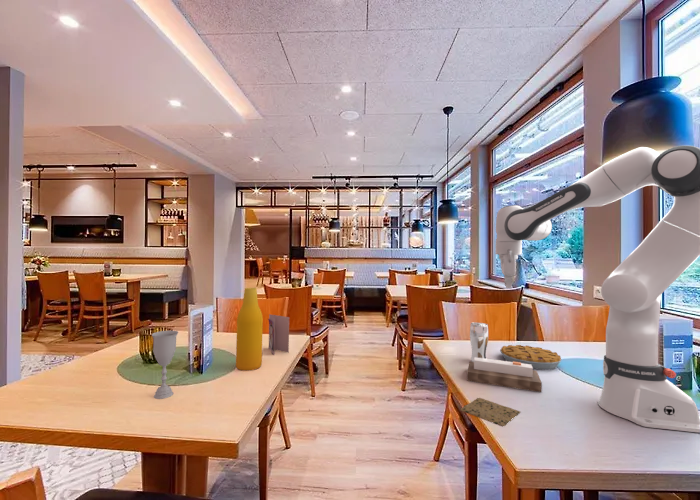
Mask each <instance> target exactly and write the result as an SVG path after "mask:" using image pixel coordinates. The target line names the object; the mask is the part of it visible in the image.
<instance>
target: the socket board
mask: <svg viewBox="0 0 700 500" xmlns="http://www.w3.org/2000/svg"><path fill="white" fill-rule="evenodd" d="M466 375H467V377H466V378H467V379H466V381H468V382H474V383H480V384H487V385H492V386H499V387H504V388H505V387H506V388H512V389H519V390H525V391H531V392H538V393H542V391H543V390H542V386H543V385H542V383H543V382H542V381H541V378H540V376H539V373H538V370H537V369H533V377H527V376H520V375H513V374H506V373H498V372H491V371H484V370H477V369H474V362H472V361H469V362H468V365H467V373H466Z"/></svg>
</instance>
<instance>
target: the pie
mask: <svg viewBox="0 0 700 500" xmlns="http://www.w3.org/2000/svg"><path fill="white" fill-rule="evenodd" d="M499 351H500V354H501V355H502V357H503V359H504V361H508V362H513V361H514V362H521V363H524V364H531V365H532V367H533V370H541V371H542V370H544V371H545V370H546V371H547V370H555V369H557V367H558V365H559V364H560V363H561V362H562V357H561V355H558V353H557V352H555V351H554V352H553V351H552V350H550V349H546V348H545V349H544V348H543V347H538V346H536V347H535V346H530V345H521V344H516V345H513V344H508V345H503V346H502V347H500V350H499Z"/></svg>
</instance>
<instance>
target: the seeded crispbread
mask: <svg viewBox="0 0 700 500" xmlns="http://www.w3.org/2000/svg"><path fill="white" fill-rule="evenodd" d="M459 411H461V412H464V413H467V414H469V415H471V416H474V417H477V418H479V419H482V420H485V421H487V422H490V423H492V422H493V423H492V424H495V425H497V424H498V426H500V427H503V426H504V427H505V426H506V425H508V424H509V423H510V422H511V421H512V420H513V419H515V418H516V417H517V416H519V414H520V413H521V411H520V410H516V409H513V408H512V407H508V406H505V405H502V404H499V403H497V402H494V401H490V400H489V399H485V398H481V397H476V399H474V400H473V401H471V402H469V403H468V404H466V405H465V404H464V405H463V406H462V407H461V408H460V410H459ZM515 416H516V417H515ZM514 417H515V418H514ZM512 418H513V419H512ZM511 419H512V420H511ZM509 421H510V422H509ZM508 422H509V423H508ZM507 423H508V424H507Z"/></svg>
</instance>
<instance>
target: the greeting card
mask: <svg viewBox="0 0 700 500" xmlns="http://www.w3.org/2000/svg"><path fill="white" fill-rule="evenodd" d="M268 315H269V316H268V317H269V318H267V320H268V349H269V351H270V352H271V353H272V355H273V356H275V351H279V352H280V351H281V352H284V353H289V349H290V348H289V347H290V346H289V345H290V344H289V343H290V340H289V339H290V317H289V316H284V315H283V316H282V315H276V314H268Z"/></svg>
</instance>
